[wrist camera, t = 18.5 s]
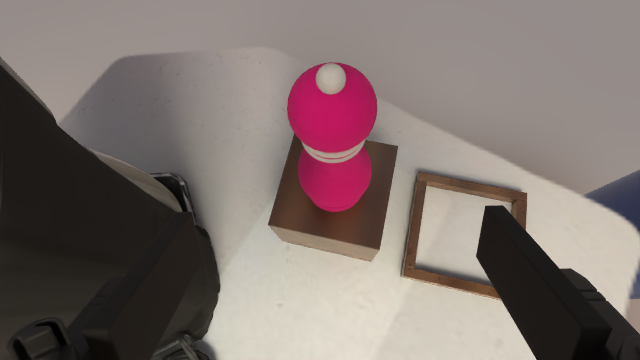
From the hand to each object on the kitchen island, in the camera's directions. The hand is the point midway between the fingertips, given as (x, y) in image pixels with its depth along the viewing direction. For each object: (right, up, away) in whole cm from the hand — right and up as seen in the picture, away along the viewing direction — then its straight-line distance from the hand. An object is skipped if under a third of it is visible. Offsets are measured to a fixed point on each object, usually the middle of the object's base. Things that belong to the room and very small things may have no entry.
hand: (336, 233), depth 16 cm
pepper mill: (+1, +2, +23) cm, 23 cm away
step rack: (+10, -3, +31) cm, 33 cm away
